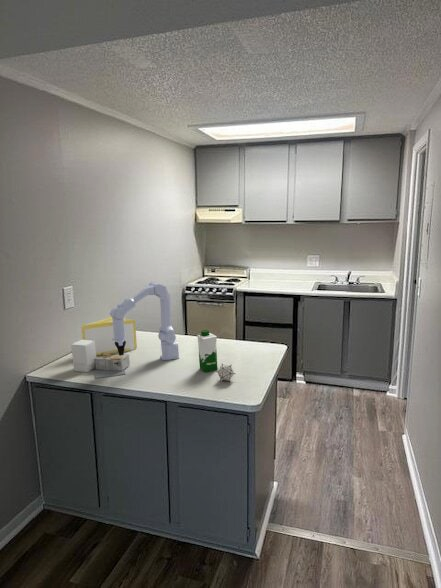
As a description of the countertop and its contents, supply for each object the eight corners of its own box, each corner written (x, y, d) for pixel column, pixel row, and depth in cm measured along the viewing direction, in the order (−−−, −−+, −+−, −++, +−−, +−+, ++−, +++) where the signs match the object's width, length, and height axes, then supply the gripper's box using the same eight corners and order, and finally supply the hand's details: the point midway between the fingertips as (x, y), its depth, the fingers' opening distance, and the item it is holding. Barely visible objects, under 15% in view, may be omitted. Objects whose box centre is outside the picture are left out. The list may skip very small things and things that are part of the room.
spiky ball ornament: (222, 387, 202) (215, 368, 206) (238, 379, 202) (230, 361, 206) (220, 385, 194) (212, 365, 197) (236, 377, 194) (228, 358, 197)
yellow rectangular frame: (122, 340, 274) (120, 311, 271) (148, 345, 264) (146, 315, 260) (80, 357, 245) (77, 325, 241) (107, 362, 234) (104, 329, 230)
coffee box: (130, 365, 226) (103, 363, 230) (129, 354, 225) (102, 352, 229) (122, 371, 217) (94, 369, 221) (121, 359, 216) (93, 358, 220)
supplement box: (97, 366, 228) (95, 340, 225) (87, 372, 219) (84, 345, 216) (84, 365, 231) (81, 339, 228) (73, 371, 222) (70, 344, 219)
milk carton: (212, 364, 223) (210, 328, 219) (220, 369, 215) (218, 332, 211) (197, 368, 219) (195, 331, 215) (204, 373, 211) (202, 335, 207)
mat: (123, 365, 227) (123, 364, 227) (125, 374, 214) (125, 373, 214) (95, 369, 223) (95, 368, 223) (95, 378, 210) (95, 377, 210)
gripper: (110, 327, 222) (113, 351, 225) (111, 334, 208) (114, 360, 211) (124, 326, 224) (126, 350, 227) (125, 332, 210) (128, 358, 213)
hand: (121, 355), depth 219 cm, fingers closed
